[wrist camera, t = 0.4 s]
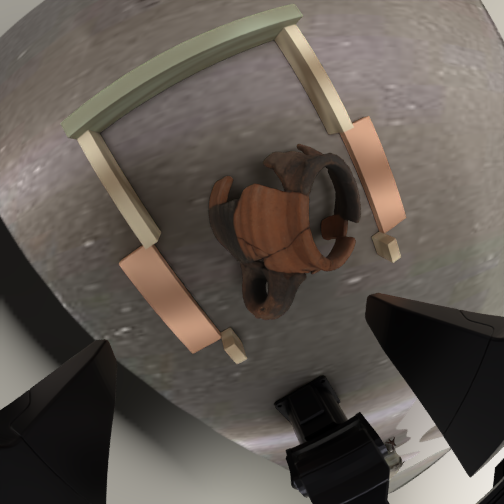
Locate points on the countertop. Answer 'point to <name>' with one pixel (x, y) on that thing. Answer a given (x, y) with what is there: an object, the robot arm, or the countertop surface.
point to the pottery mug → (284, 227)
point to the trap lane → (173, 71)
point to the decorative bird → (393, 460)
